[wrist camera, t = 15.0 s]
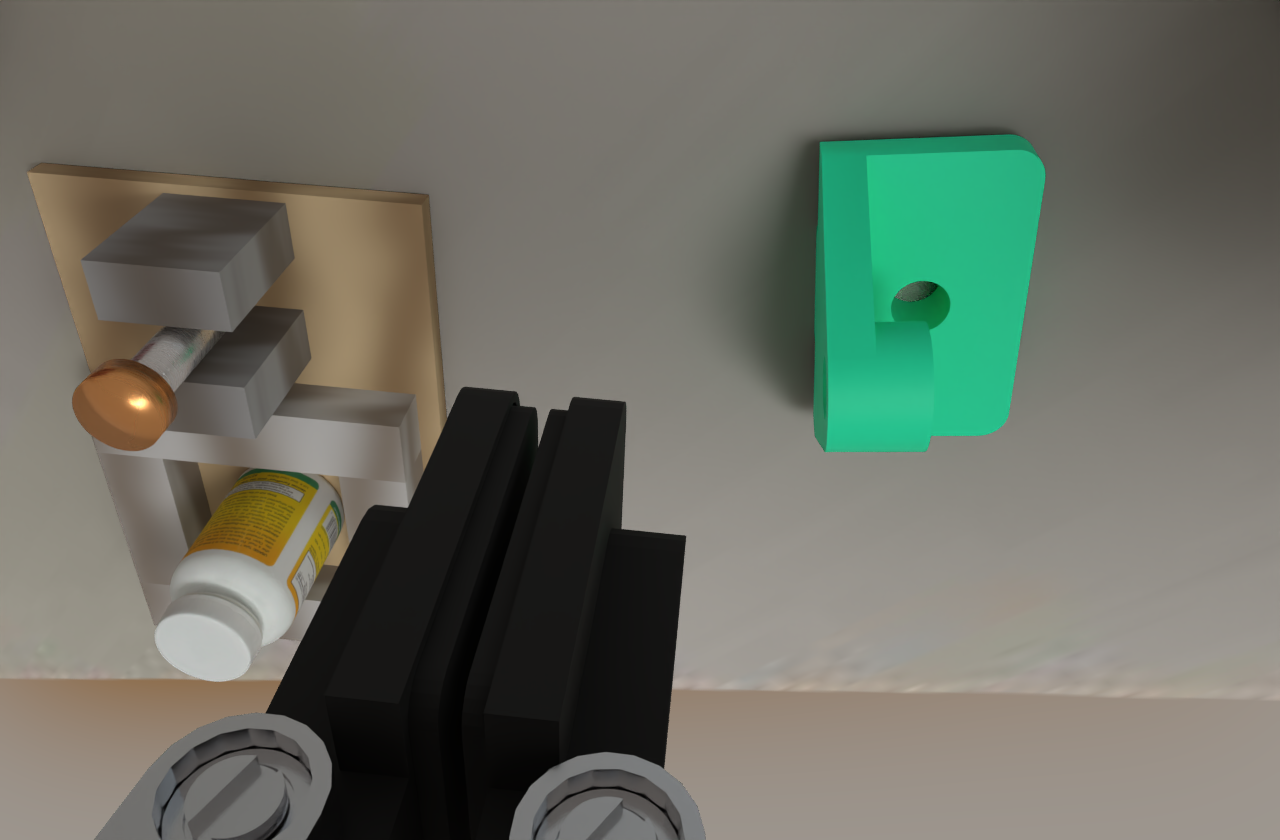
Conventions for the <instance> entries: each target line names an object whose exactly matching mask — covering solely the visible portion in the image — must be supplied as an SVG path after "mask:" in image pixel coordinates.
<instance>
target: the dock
mask: <svg viewBox="0 0 1280 840" xmlns="http://www.w3.org/2000/svg"><path fill="white" fill-rule="evenodd" d="M27 174H28V177H29V180H30V184H31V187H32V190H33V193H34V196H35V199H36V202H37V206H38V209H39V212H40V215H41V218H42V221H43V224H44V228H45V231H46V234H47V237H48V240H49V243H50V246H51V250H52V253H53V256H54V259H55V262H56V265H57V268H58V272H59V275H60V278H61V281H62V284H63V287H64V291H65V294H66V297H67V300H68V303H69V306H70V309H71V313H72V316H73V319H74V322H75V325H76V328H77V331H78V335H79V338H80V341H81V344H82V347H83V350H84V353H85V357H86V360H87V363H88V366H89V369H90V372H91V373H92V372H93V371H94V370H95V369H96V368H97V367H98V366H99V365H100V364H102V363H103V362H106V361H108V360H112V359H127V360H131V359H132V358H133V357H134V356H135V355H136V354H137V353H138V352H139V351H140V350H141V349H142V347H143V346H144V345H145V344H146V343H147V342H148V341H149V340H150V339H151V338H152V337H153V336H154V335H155V334H156V333H157V332H158V331H159V330H160V329H161V328H162V327H163V326H169V327H180V328H191V329H202V330H213V331H224V332H225V333H224V335H223V336H222V337H221V338H220V339H219V340H218V342H217V343H216V344H215V345H214V346H213V347H212V349H211V350H210V351H209V352H208V353H207V354H206V356H205V357H204V358H203V359H202V360H201V361H200V363H199V364H198V365H197V366H196V367H195V368H194V370H193V371H192V372H191V373H190V374H189V375H188V377H187V378H186V379H185V380H184V381H183V382H182V384H181V385H180V386H179V387H178V388H177V390H176V391H175V392H174V394H175V396H176V399H177V404H178V410H177V415H176V418H175V419H174V421H173V422H172V423H171V425H170V426H169V427H168V428H167V429H166V431H165V432H164V433H163V434H162V435H161V437H160V438H159V439H158V440H157V441H156V443H155V444H154V445H152V446H151V447H149V448H147V449H144V450H140V451H125V450H120V449H116V448H113V447H110V446H108V445H106V444H104V443H102V442H100V441H99V440H97V439H96V438H94V437H93V436H92V438H93V441H94V444H95V447H96V450H97V453H98V456H99V459H100V462H101V465H102V468H103V471H104V474H105V478H106V481H107V484H108V487H109V490H110V493H111V496H112V499H113V502H114V505H115V508H116V511H117V514H118V517H119V520H120V523H121V526H122V529H123V532H124V535H125V538H126V541H127V544H128V547H129V550H130V553H131V556H132V559H133V562H134V565H135V568H136V571H137V574H138V577H139V580H140V583H141V586H142V589H143V592H144V595H145V598H146V601H147V604H148V607H149V610H150V613H151V616H152V619H153V622H154V625H158V623H159V622H160V620H161V618H162V617H163V615H164V613H165V612H166V610H167V608H168V606H169V605H170V604H171V603H172V600H171V595H170V583H171V579H172V576H173V573H174V571H175V569H176V568H177V566H178V564H179V563H180V562H181V560H182V559H183V557H184V556H185V555H186V553H187V552H188V550H189V549H190V547H191V546H192V544H193V543H194V542H195V540H196V539H197V537H198V536H199V534H200V533H201V531H202V530H203V529H204V527H205V526H206V524H207V523H208V521H209V520H210V519H211V517H212V516H213V514H214V513H215V511H216V510H217V509H218V507H219V506H220V504H221V503H222V501H223V500H224V498H225V497H226V496H227V494H228V493H229V492H230V490H231V489H232V487H233V486H234V484H235V483H236V482H237V480H238V479H239V478H240V476H241V475H242V474H243V473H244V472H245V471H246V470H248V469H249V468H260V469H270V470H280V471H290V472H300V473H310V474H319V475H320V476H321V477H323V478H324V479H325V480H326V481H327V482H329V483H330V484H331V486H332V487H333V488H334V489H335V491H336V492H337V493H338V495H339V497H340V499H341V501H342V504H343V508H344V523H343V527H342V530H341V532H340V534H339V536H338V538H337V540H336V542H335V544H334V546H333V548H332V550H331V552H330V554H329V555H328V557H327V559H326V561H325V562H324V564H323V566H322V568H321V570H320V572H319V574H318V576H317V578H316V579H315V581H314V583H313V585H312V587H311V589H310V591H309V593H308V595H307V597H306V598H305V600H304V602H303V604H302V606H301V608H300V610H299V612H298V613H297V615H296V617H295V619H294V621H293V623H292V624H291V626H290V627H289V629H288V630H287V631H286V632H285V634H284V635H282V636H281V637H280V638H279V639H288V640H297V641H302V639H303V637H304V635H305V633H306V631H307V629H308V627H309V625H310V623H311V621H312V619H313V617H314V615H315V612H316V610H317V608H318V606H319V604H320V602H321V600H322V598H323V596H324V594H325V592H326V590H327V588H328V586H329V584H330V582H331V580H332V578H333V576H334V574H335V572H336V570H337V568H338V566H339V564H340V562H341V560H342V558H343V556H344V554H345V552H346V550H347V548H348V546H349V544H350V542H351V540H352V538H353V536H354V534H355V532H356V530H357V528H358V526H359V524H360V522H361V520H362V518H363V516H364V515H365V513H366V512H367V510H368V509H369V508H370V507H372V506H373V505H385V506H395V507H405V508H408V506H409V504H410V502H411V499H412V497H413V495H414V493H415V490H416V488H417V486H418V484H419V481H420V479H421V477H422V475H423V472H424V470H425V468H426V466H427V463H428V461H429V459H430V457H431V454H432V452H433V450H434V448H435V445H436V443H437V441H438V439H439V436H440V434H441V432H442V430H443V427H444V425H445V423H446V421H447V416H446V403H445V391H444V379H443V366H442V354H441V342H440V329H439V317H438V304H437V292H436V280H435V267H434V255H433V243H432V230H431V218H430V206H429V195H424V194H412V193H399V192H387V191H375V190H363V189H351V188H339V187H327V186H315V185H303V184H290V183H278V182H266V181H254V180H242V179H230V178H218V177H206V176H193V175H181V174H169V173H157V172H145V171H133V170H121V169H109V168H97V167H84V166H72V165H60V164H48V163H41V164H39V165H37V166H36V167H34V168H33V169H31V170H30V171H28V172H27Z"/></svg>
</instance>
